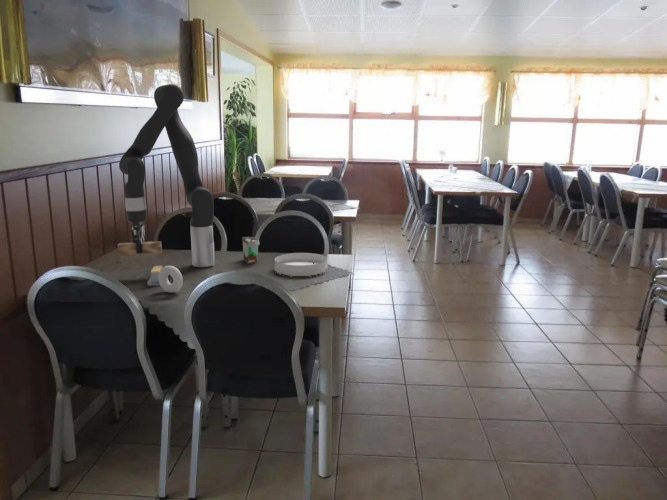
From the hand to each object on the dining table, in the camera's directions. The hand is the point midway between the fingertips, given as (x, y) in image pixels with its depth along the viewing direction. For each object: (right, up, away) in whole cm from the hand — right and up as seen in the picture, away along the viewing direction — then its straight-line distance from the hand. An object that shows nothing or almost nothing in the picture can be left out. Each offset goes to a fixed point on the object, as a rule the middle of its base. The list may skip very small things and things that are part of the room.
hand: (140, 251), depth 217 cm
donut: (+18, -15, -19) cm, 30 cm away
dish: (+63, -8, +13) cm, 64 cm away
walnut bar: (0, -1, 0) cm, 1 cm away
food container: (+40, -5, +27) cm, 49 cm away
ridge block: (+9, -12, -6) cm, 16 cm away
